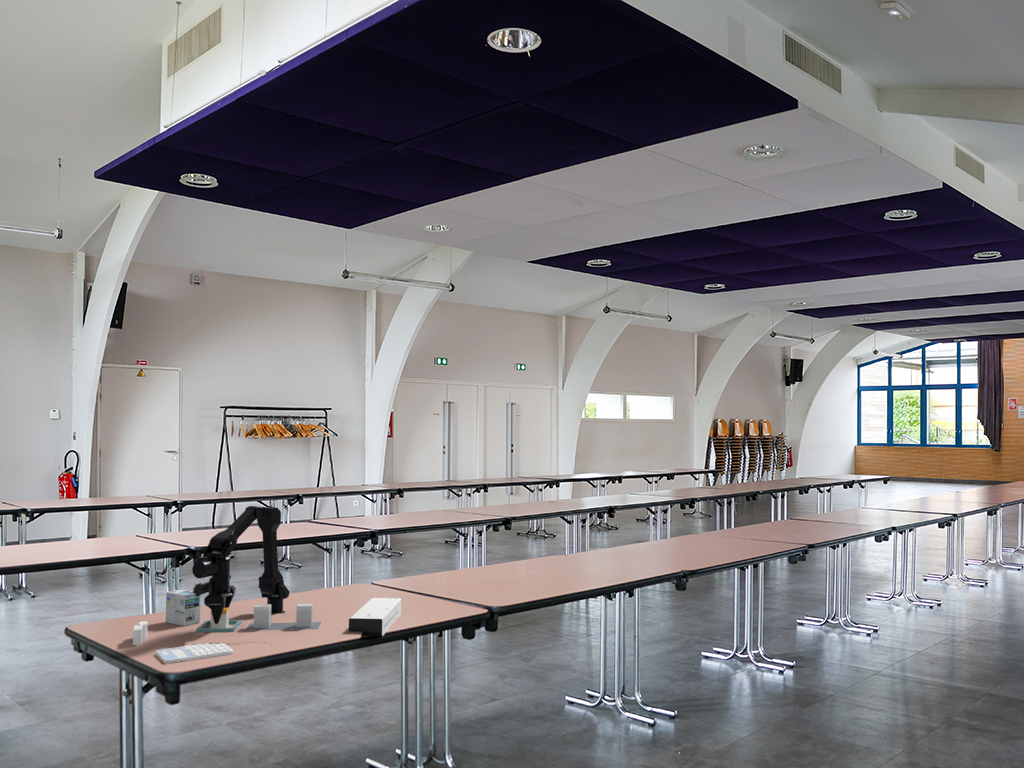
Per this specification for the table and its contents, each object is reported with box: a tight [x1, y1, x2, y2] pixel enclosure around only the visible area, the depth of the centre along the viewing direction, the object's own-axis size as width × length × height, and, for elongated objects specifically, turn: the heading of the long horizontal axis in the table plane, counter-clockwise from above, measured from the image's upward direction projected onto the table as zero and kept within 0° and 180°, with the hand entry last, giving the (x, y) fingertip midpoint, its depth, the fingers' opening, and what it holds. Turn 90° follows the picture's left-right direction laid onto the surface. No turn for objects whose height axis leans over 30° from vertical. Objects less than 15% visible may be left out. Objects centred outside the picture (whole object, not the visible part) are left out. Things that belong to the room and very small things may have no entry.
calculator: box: [155, 642, 234, 664], centre depth 252 cm, size 13×20×2 cm, turn 125°
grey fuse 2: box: [295, 603, 314, 627], centre depth 282 cm, size 4×5×7 cm
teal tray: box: [195, 619, 242, 633], centre depth 279 cm, size 12×12×2 cm
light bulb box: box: [165, 589, 202, 627], centre depth 292 cm, size 11×7×11 cm, turn 59°
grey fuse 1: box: [253, 603, 272, 628], centre depth 280 cm, size 4×5×7 cm
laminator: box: [348, 597, 403, 637], centre depth 291 cm, size 34×12×6 cm, turn 177°
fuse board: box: [243, 621, 322, 632], centre depth 281 cm, size 10×24×2 cm, turn 96°
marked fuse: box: [210, 607, 230, 628], centre depth 279 cm, size 4×5×7 cm
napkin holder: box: [132, 620, 148, 646], centre depth 267 cm, size 15×11×6 cm
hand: (219, 620), depth 279 cm, fingers open, 9 cm apart
